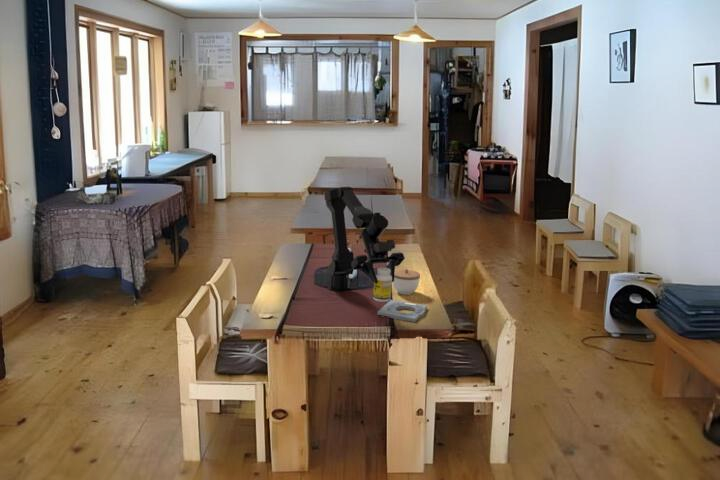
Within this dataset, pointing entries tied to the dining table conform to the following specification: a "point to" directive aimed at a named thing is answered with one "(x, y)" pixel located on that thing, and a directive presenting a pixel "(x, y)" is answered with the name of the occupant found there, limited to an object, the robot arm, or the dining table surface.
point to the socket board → (392, 312)
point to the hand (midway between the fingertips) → (385, 282)
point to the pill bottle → (383, 285)
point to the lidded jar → (406, 281)
